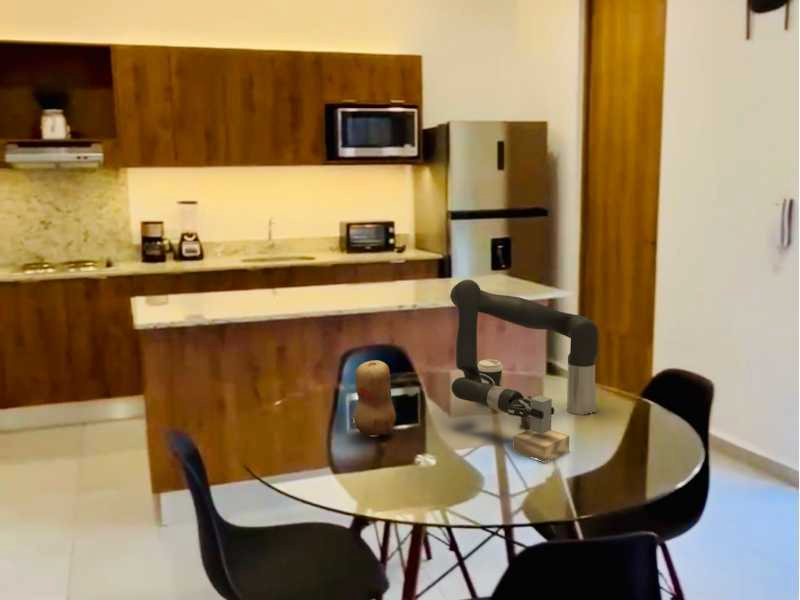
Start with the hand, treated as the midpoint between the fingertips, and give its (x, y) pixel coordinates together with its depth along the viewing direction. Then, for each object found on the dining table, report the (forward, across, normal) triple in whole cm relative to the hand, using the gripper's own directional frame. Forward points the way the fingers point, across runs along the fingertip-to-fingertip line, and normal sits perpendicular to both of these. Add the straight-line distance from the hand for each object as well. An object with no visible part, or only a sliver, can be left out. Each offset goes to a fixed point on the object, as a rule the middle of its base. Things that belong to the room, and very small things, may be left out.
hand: (548, 413), depth 231 cm
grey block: (-3, 0, +6) cm, 7 cm away
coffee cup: (-43, +23, +13) cm, 51 cm away
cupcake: (-17, +15, +13) cm, 27 cm away
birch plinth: (-2, 0, +13) cm, 13 cm away
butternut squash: (-49, -27, +14) cm, 57 cm away
